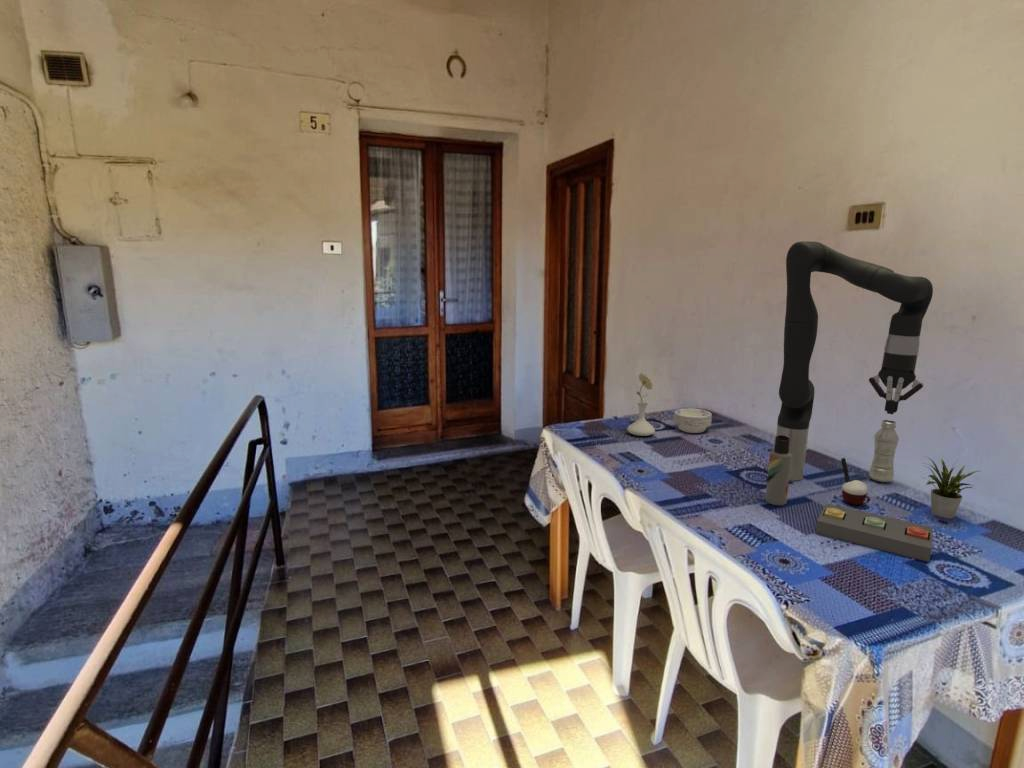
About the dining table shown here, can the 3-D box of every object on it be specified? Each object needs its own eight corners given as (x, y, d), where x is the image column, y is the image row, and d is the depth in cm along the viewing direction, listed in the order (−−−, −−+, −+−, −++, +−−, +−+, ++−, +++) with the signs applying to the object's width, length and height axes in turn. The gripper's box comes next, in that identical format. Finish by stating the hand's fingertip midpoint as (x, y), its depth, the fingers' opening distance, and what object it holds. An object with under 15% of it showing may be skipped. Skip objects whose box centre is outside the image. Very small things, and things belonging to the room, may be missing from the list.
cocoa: (871, 509, 163) (880, 470, 160) (850, 509, 162) (858, 470, 159) (851, 495, 172) (859, 458, 169) (831, 494, 172) (838, 457, 169)
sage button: (862, 533, 145) (864, 520, 144) (864, 527, 148) (866, 514, 147) (882, 538, 142) (884, 524, 142) (883, 531, 146) (885, 519, 145)
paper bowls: (667, 425, 245) (668, 408, 244) (701, 424, 247) (702, 407, 245) (681, 436, 231) (682, 417, 229) (717, 435, 232) (718, 416, 231)
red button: (905, 543, 140) (907, 530, 139) (906, 537, 143) (908, 524, 142) (925, 548, 137) (928, 535, 136) (926, 542, 140) (928, 528, 140)
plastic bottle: (896, 485, 180) (905, 424, 176) (872, 483, 181) (881, 423, 177) (887, 478, 186) (896, 419, 182) (864, 476, 187) (873, 418, 183)
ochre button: (823, 523, 150) (824, 511, 149) (825, 518, 153) (827, 505, 153) (841, 528, 148) (843, 515, 147) (843, 522, 151) (845, 509, 150)
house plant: (895, 506, 164) (903, 453, 160) (926, 499, 169) (935, 447, 165) (948, 527, 151) (958, 469, 147) (980, 519, 156) (991, 463, 152)
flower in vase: (658, 438, 227) (661, 377, 222) (629, 438, 227) (632, 377, 222) (650, 429, 240) (654, 371, 235) (623, 428, 240) (626, 371, 235)
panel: (815, 533, 147) (817, 520, 146) (824, 514, 158) (826, 503, 157) (929, 562, 133) (931, 548, 132) (930, 539, 144) (932, 527, 143)
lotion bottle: (785, 499, 168) (792, 435, 164) (787, 507, 163) (795, 440, 159) (764, 497, 170) (771, 433, 166) (766, 504, 165) (773, 438, 161)
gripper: (931, 353, 152) (920, 415, 155) (874, 347, 160) (864, 406, 163) (930, 356, 146) (918, 420, 150) (870, 350, 154) (860, 411, 158)
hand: (890, 413), depth 157 cm, fingers closed
